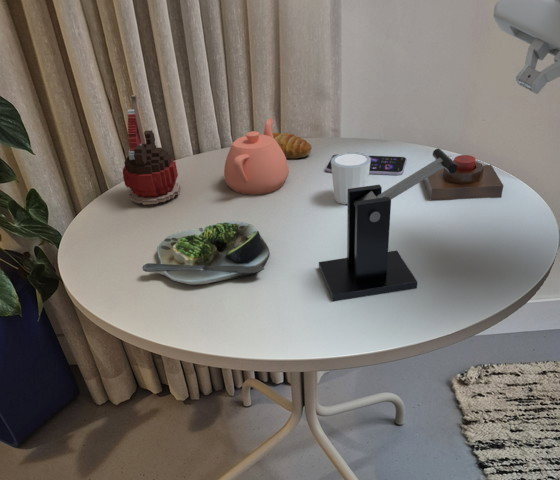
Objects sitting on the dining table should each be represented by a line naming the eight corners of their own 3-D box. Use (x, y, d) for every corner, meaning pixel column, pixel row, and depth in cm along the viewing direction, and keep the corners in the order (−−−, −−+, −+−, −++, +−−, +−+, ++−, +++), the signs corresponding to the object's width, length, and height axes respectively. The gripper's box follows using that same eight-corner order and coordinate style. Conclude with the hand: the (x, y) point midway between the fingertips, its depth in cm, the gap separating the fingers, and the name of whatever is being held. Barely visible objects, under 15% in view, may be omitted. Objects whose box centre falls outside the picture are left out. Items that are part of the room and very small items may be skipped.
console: (489, 176, 106) (493, 154, 103) (501, 197, 99) (505, 175, 96) (423, 179, 107) (425, 158, 104) (430, 201, 100) (432, 178, 97)
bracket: (396, 257, 87) (402, 174, 78) (416, 289, 80) (425, 202, 71) (318, 268, 86) (316, 186, 77) (332, 302, 79) (331, 215, 71)
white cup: (377, 195, 103) (379, 156, 98) (353, 210, 99) (354, 170, 95) (347, 186, 107) (347, 148, 102) (323, 200, 103) (322, 161, 98)
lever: (444, 158, 76) (438, 142, 74) (460, 174, 72) (454, 158, 70) (357, 210, 79) (349, 197, 77) (368, 229, 75) (361, 214, 73)
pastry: (317, 150, 121) (317, 132, 118) (302, 163, 117) (301, 144, 114) (279, 145, 125) (277, 127, 122) (263, 157, 121) (261, 138, 118)
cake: (175, 207, 105) (154, 103, 93) (125, 210, 106) (98, 107, 94) (184, 183, 113) (166, 84, 101) (138, 186, 114) (114, 88, 102)
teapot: (211, 198, 107) (203, 147, 101) (248, 161, 119) (243, 113, 113) (271, 204, 103) (267, 151, 97) (303, 165, 116) (301, 116, 109)
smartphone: (332, 153, 117) (407, 156, 113) (332, 156, 117) (407, 159, 114) (324, 169, 112) (402, 172, 108) (324, 172, 112) (402, 175, 108)
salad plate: (152, 306, 81) (144, 278, 78) (137, 248, 94) (130, 223, 91) (282, 276, 85) (280, 249, 82) (250, 225, 98) (247, 199, 95)
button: (471, 164, 102) (473, 154, 100) (476, 172, 99) (477, 162, 98) (451, 165, 102) (452, 155, 101) (454, 173, 99) (456, 163, 98)
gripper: (536, -71, 67) (455, 40, 72) (696, -15, 57) (589, 110, 61) (549, -35, 72) (473, 67, 77) (698, 22, 62) (599, 136, 66)
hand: (525, 86), depth 69 cm, fingers closed
